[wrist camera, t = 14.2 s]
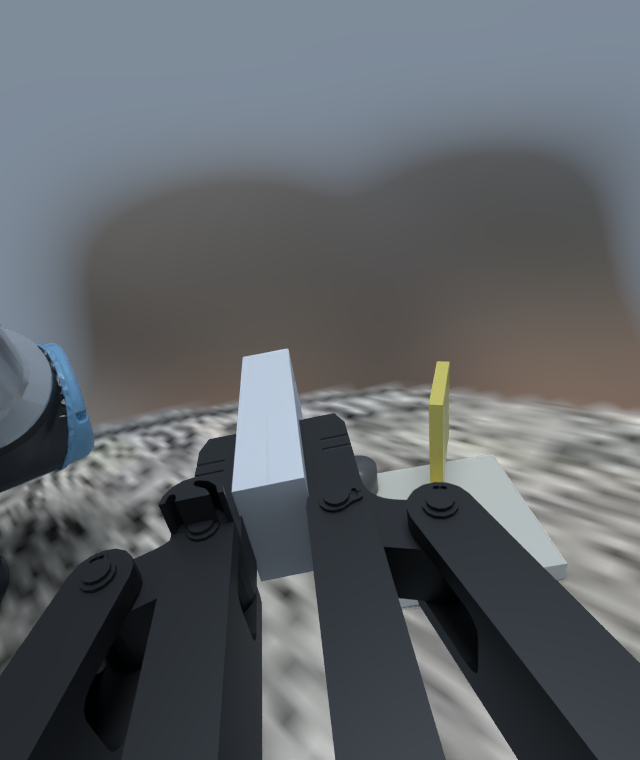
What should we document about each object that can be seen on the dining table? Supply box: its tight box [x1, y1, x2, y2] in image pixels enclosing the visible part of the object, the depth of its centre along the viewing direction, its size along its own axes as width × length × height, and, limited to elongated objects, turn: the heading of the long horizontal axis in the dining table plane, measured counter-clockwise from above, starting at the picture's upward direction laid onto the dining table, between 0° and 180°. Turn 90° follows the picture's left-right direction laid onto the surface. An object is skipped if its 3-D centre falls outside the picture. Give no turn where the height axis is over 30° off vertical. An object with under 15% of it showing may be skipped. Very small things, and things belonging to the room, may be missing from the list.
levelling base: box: [354, 454, 567, 608], centre depth 46 cm, size 18×15×5 cm
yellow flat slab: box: [429, 362, 449, 483], centre depth 45 cm, size 14×5×12 cm, turn 163°
